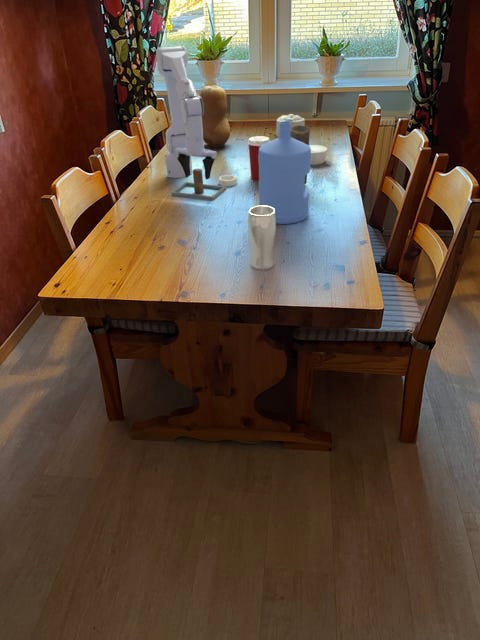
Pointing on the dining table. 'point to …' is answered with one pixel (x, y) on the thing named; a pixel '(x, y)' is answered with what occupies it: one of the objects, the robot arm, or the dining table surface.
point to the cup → (227, 180)
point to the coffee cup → (255, 154)
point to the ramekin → (318, 154)
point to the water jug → (284, 176)
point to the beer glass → (262, 236)
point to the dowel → (198, 181)
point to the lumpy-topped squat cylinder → (291, 118)
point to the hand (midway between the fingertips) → (197, 177)
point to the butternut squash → (215, 116)
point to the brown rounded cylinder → (301, 136)
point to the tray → (177, 193)
